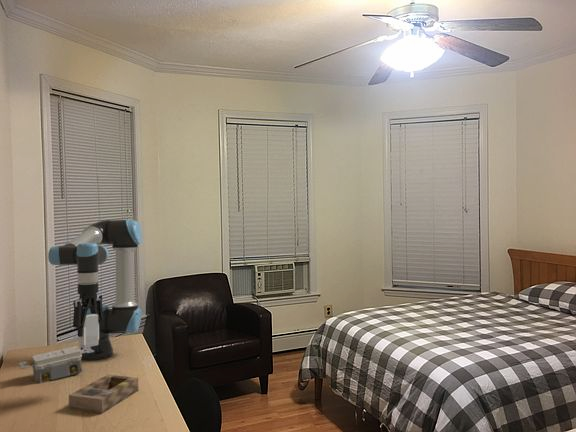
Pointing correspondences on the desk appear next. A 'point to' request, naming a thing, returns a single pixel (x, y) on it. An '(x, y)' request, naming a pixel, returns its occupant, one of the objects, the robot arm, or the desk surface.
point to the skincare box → (91, 330)
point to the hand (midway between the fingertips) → (89, 341)
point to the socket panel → (103, 393)
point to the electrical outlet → (56, 363)
